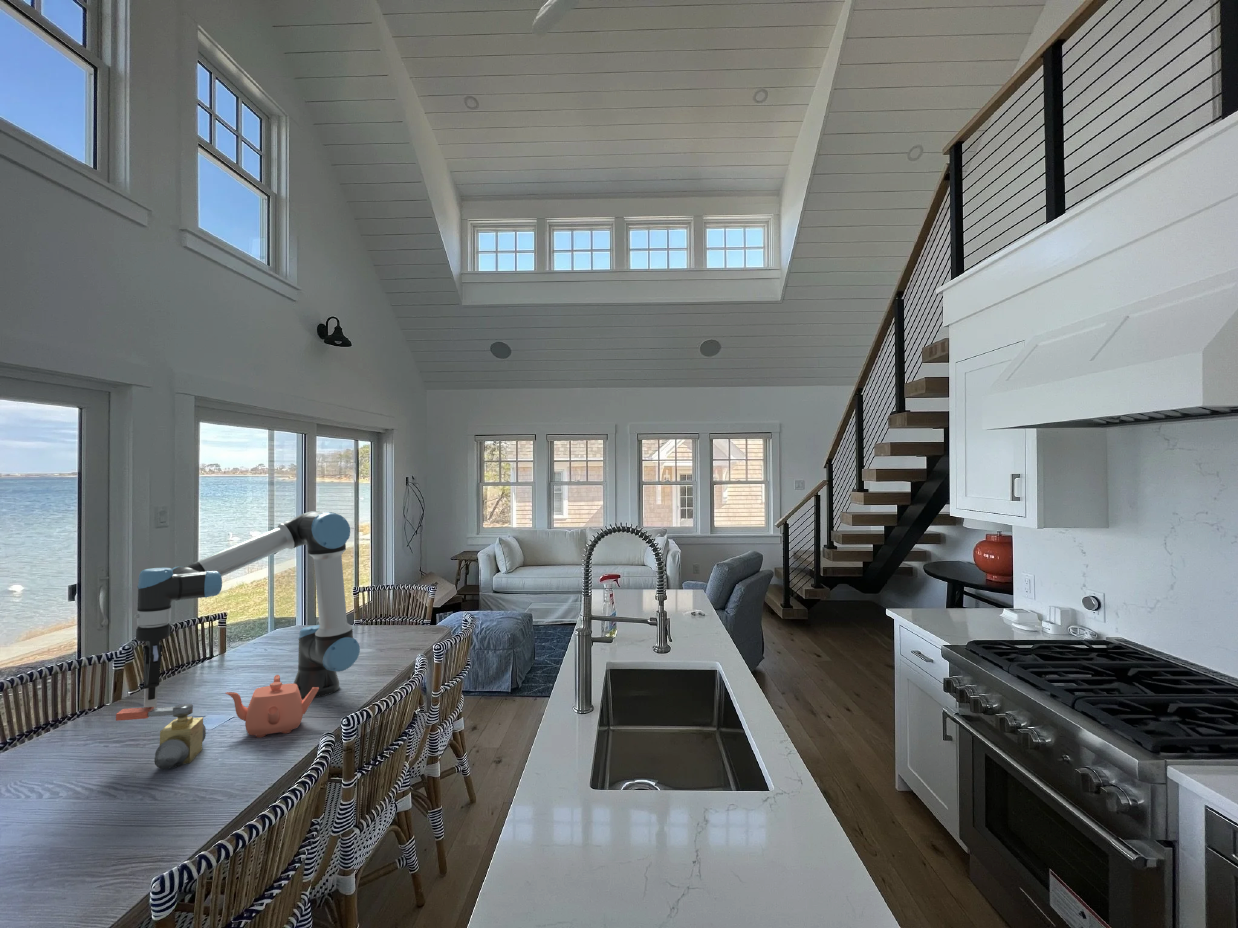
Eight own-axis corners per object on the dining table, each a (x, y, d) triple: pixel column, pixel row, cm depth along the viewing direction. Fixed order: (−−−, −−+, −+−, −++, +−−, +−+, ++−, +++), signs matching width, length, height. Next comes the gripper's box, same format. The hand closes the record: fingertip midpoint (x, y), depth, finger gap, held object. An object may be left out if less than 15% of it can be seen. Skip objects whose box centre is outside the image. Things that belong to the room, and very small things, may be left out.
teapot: (222, 737, 174) (224, 689, 175) (275, 714, 192) (277, 670, 192) (271, 746, 169) (273, 697, 169) (321, 721, 187) (323, 677, 187)
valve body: (180, 744, 169) (182, 703, 169) (209, 742, 171) (211, 701, 171) (148, 775, 152) (150, 729, 152) (181, 771, 154) (183, 726, 154)
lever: (195, 709, 164) (195, 703, 164) (188, 715, 160) (188, 709, 160) (123, 714, 160) (124, 708, 160) (114, 721, 156) (115, 714, 156)
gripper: (133, 622, 168) (129, 706, 168) (139, 631, 159) (135, 720, 158) (166, 618, 174) (163, 700, 173) (174, 626, 164) (170, 713, 164)
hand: (150, 709), depth 166 cm, fingers closed
